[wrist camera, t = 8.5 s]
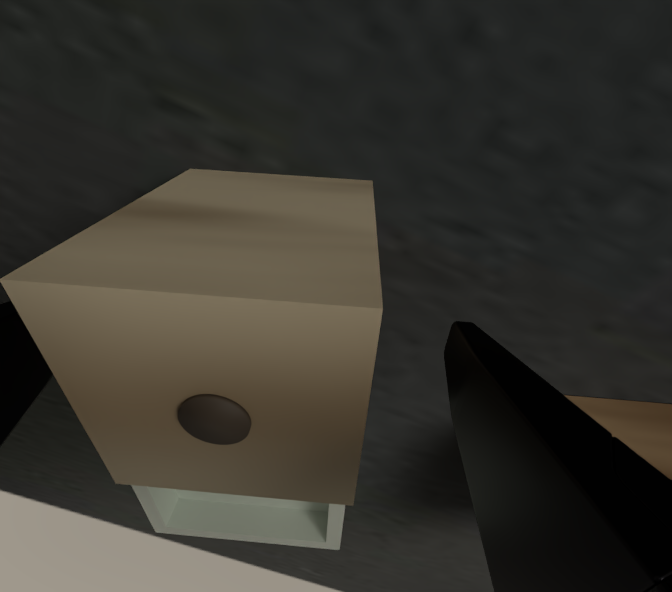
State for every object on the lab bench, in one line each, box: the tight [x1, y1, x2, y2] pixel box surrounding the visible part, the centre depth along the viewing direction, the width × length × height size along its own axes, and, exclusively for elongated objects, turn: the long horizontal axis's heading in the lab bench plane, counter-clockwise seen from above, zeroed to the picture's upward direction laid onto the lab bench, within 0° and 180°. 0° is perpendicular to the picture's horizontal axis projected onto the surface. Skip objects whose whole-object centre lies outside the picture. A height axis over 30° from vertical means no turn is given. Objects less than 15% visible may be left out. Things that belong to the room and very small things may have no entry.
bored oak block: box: [564, 395, 672, 480], centre depth 12 cm, size 6×6×6 cm
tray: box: [131, 485, 345, 550], centre depth 16 cm, size 9×9×2 cm
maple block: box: [0, 169, 383, 506], centre depth 8 cm, size 5×5×6 cm
